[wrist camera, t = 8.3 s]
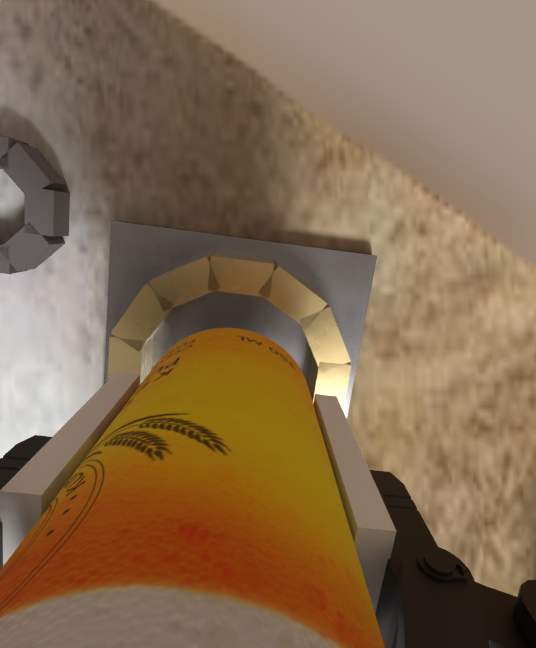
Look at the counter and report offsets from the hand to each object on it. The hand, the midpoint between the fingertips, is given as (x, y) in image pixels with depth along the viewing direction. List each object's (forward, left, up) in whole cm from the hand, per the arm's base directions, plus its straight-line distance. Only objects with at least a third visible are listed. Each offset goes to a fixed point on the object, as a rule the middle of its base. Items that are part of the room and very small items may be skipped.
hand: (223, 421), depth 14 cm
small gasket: (-11, +6, -7) cm, 14 cm away
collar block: (0, 0, -7) cm, 7 cm away
